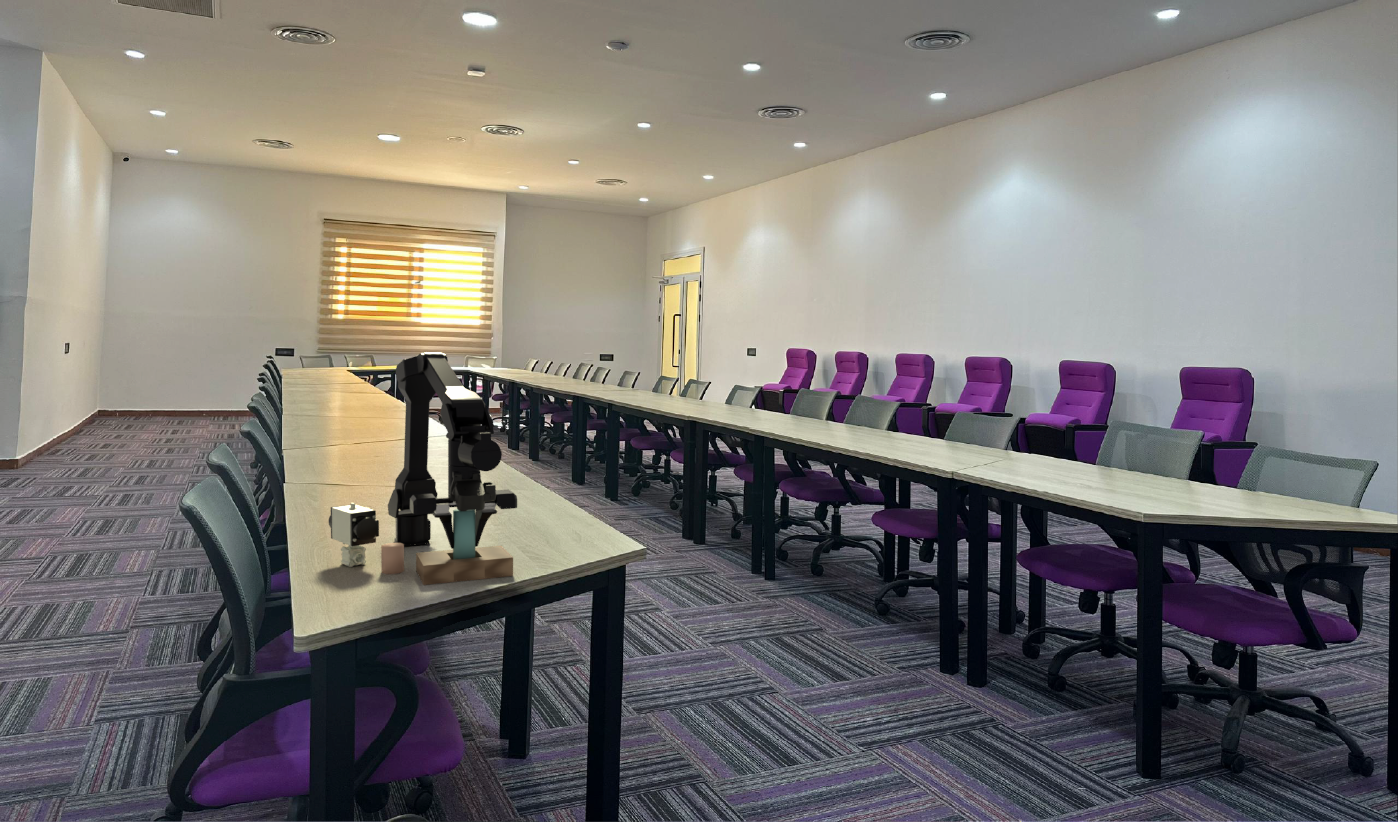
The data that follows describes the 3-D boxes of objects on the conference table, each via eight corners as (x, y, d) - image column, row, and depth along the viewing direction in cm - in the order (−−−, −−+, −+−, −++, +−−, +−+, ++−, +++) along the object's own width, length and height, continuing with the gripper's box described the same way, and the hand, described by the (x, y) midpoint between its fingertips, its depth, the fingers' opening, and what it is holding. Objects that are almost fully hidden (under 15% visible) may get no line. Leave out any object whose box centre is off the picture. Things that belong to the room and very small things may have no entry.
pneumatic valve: (355, 572, 153) (355, 509, 153) (327, 560, 161) (327, 500, 160) (384, 567, 158) (383, 505, 157) (355, 556, 165) (354, 497, 164)
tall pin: (455, 566, 151) (455, 513, 151) (451, 561, 155) (451, 509, 154) (477, 564, 153) (477, 511, 152) (473, 559, 157) (473, 507, 156)
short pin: (382, 575, 152) (382, 548, 152) (380, 569, 156) (380, 543, 155) (405, 573, 154) (405, 546, 154) (402, 567, 158) (402, 542, 157)
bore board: (423, 584, 146) (423, 565, 146) (416, 571, 155) (416, 552, 155) (513, 575, 153) (513, 557, 153) (501, 563, 162) (501, 545, 162)
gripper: (417, 473, 141) (417, 562, 143) (524, 468, 150) (524, 552, 151) (409, 464, 151) (409, 547, 153) (510, 460, 160) (510, 539, 161)
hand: (464, 547), depth 154 cm, fingers closed on tall pin, 4 cm apart
